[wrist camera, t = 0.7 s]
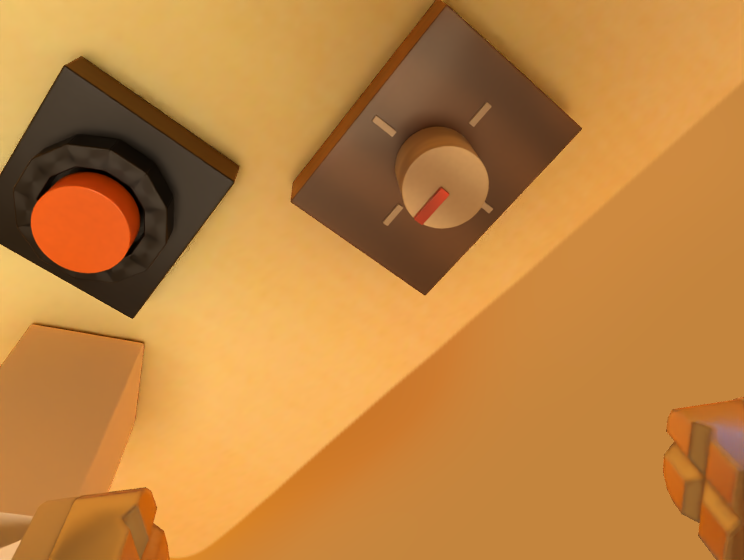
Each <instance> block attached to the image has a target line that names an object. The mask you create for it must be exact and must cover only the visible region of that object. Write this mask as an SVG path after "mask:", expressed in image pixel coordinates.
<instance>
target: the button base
mask: <svg viewBox="0 0 744 560" xmlns="http://www.w3.org/2000/svg"><path fill="white" fill-rule="evenodd" d="M238 170H239V166H238V165H237V164H235V163H234V162H232V161H231V160H229V159H228V158H227V157H225V156H224V155H222V154H221V153H219V152H218V151H217V150H215V149H214V148H212V147H211V146H209V145H208V144H207V143H205V142H204V141H202V140H201V139H199V138H198V137H197V136H195V135H194V134H192V133H191V132H189V131H188V130H187V129H185V128H184V127H182V126H181V125H179V124H178V123H176V122H175V121H174V120H172V119H171V118H169V117H168V116H166V115H165V114H164V113H162V112H161V111H159V110H158V109H156V108H155V107H154V106H152V105H151V104H149V103H148V102H146V101H145V100H144V99H142V98H141V97H139V96H138V95H136V94H135V93H133V92H132V91H131V90H129V89H128V88H126V87H125V86H123V85H122V84H121V83H119V82H118V81H116V80H115V79H113V78H112V77H111V76H109V75H108V74H106V73H105V72H103V71H102V70H101V69H99V68H98V67H96V66H95V65H93V64H92V63H90V62H89V61H88V60H86V59H85V58H83V57H79V58H77V59H75V60H73V61H72V62H70V63H68V64H66V65H64V66H63V68H62V70H61V71H60V73H59V75H58V76H57V78H56V80H55V82H54V83H53V85H52V87H51V88H50V90H49V92H48V94H47V95H46V97H45V99H44V100H43V102H42V104H41V106H40V107H39V109H38V111H37V112H36V114H35V116H34V117H33V119H32V121H31V123H30V124H29V126H28V128H27V129H26V131H25V133H24V135H23V136H22V138H21V140H20V141H19V143H18V145H17V147H16V148H15V150H14V152H13V153H12V155H11V157H10V159H9V160H8V162H7V164H6V165H5V167H4V169H3V171H2V172H1V174H0V244H1V245H3V246H4V247H6V248H8V249H10V250H12V251H13V252H15V253H17V254H19V255H20V256H22V257H24V258H26V259H27V260H29V261H31V262H33V263H35V264H36V265H38V266H40V267H42V268H43V269H45V270H47V271H49V272H50V273H52V274H54V275H56V276H58V277H59V278H61V279H63V280H65V281H66V282H68V283H70V284H72V285H73V286H75V287H77V288H79V289H80V290H82V291H84V292H86V293H88V294H89V295H91V296H93V297H95V298H96V299H98V300H100V301H102V302H103V303H105V304H107V305H109V306H111V307H112V308H114V309H116V310H118V311H119V312H121V313H123V314H125V315H126V316H128V317H130V318H132V319H133V318H134V317H135V316H136V314H137V313H138V312H139V310H140V309H141V308H142V306H143V305H144V304H145V302H146V301H147V299H148V298H149V297H150V295H151V294H152V293H153V291H154V290H155V289H156V287H157V286H158V285H159V283H160V282H161V281H162V279H163V278H164V277H165V275H166V274H167V273H168V271H169V270H170V269H171V267H172V266H173V265H174V263H175V262H176V260H177V259H178V258H179V256H180V255H181V254H182V252H183V251H184V250H185V248H186V247H187V246H188V244H189V243H190V242H191V240H192V239H193V238H194V236H195V235H196V234H197V232H198V231H199V230H200V228H201V227H202V226H203V224H204V223H205V221H206V220H207V219H208V217H209V216H210V215H211V213H212V212H213V211H214V209H215V208H216V207H217V205H218V204H219V203H220V201H221V200H222V199H223V197H224V196H225V195H226V193H227V192H228V191H229V189H230V188H231V187H232V185H233V184H234V182H235V179H236V176H237V173H238ZM77 172H94V173H99V174H102V175H105V176H108V177H110V178H112V179H114V180H115V181H117V182H118V183H120V184H121V185H122V186H123V187H124V188H126V189H127V191H128V192H129V193H130V194H131V195H132V197H133V198H134V200H135V202H136V204H137V207H138V209H139V214H140V228H139V232H138V234H137V236H136V238H135V240H134V241H133V243H132V245H131V247H130V248H129V250H128V252H127V253H126V255H125V257H124V258H123V259H122V260H121V261H120V262H119V263H118V264H117V265H115V266H114V267H112V268H110V269H108V270H105V271H102V272H97V273H81V272H75V271H72V270H69V269H66V268H64V267H62V266H60V265H58V264H56V263H55V262H53V261H52V260H51V259H50V258H48V257H47V256H46V255H45V254H44V253H43V251H42V250H41V249H40V248H39V246H38V245H37V243H36V241H35V239H34V236H33V233H32V229H31V215H32V211H33V208H34V206H35V204H36V203H37V201H38V200H39V199H40V198H41V197H42V196H43V195H44V194H45V193H46V192H47V191H48V190H49V189H50V188H51V187H52V186H53V185H54V184H55V183H56V182H57V181H58V180H60V179H61V178H63V177H65V176H67V175H69V174H72V173H77Z"/></svg>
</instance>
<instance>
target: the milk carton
mask: <svg viewBox="0 0 744 560" xmlns="http://www.w3.org/2000/svg"><path fill="white" fill-rule="evenodd" d="M143 351H144V344H143V343H139V342H133V341H128V340H122V339H116V338H110V337H104V336H99V335H93V334H87V333H81V332H75V331H69V330H64V329H58V328H52V327H46V326H40V325H34V324H32V325H30V327H29V328H28V329H27V331H26V332H25V334H24V335H23V336H22V338H21V339H20V340H19V342H18V343H17V345H16V346H15V347H14V349H13V350H12V351H11V353H10V354H9V356H8V357H7V358H6V360H5V361H4V362H3V364H2V365H1V367H0V560H11V559H12V557H13V556H14V554H15V552H16V550H17V548H18V546H19V544H20V542H21V540H22V538H23V536H24V534H25V532H26V530H27V528H28V526H29V524H30V522H31V521H32V519H33V517H34V515H35V513H36V511H37V509H38V507H39V506H40V505H41V504H43V503H44V502H46V501H48V500H55V499H62V498H69V497H80V496H82V495H90V494H98V493H106V492H109V489H110V487H111V484H112V481H113V479H114V476H115V473H116V471H117V468H118V466H119V463H120V460H121V458H122V455H123V452H124V450H125V447H126V444H127V442H128V439H129V436H130V434H131V431H132V428H133V426H134V422H135V417H136V409H137V401H138V392H139V384H140V376H141V368H142V360H143Z"/></svg>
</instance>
